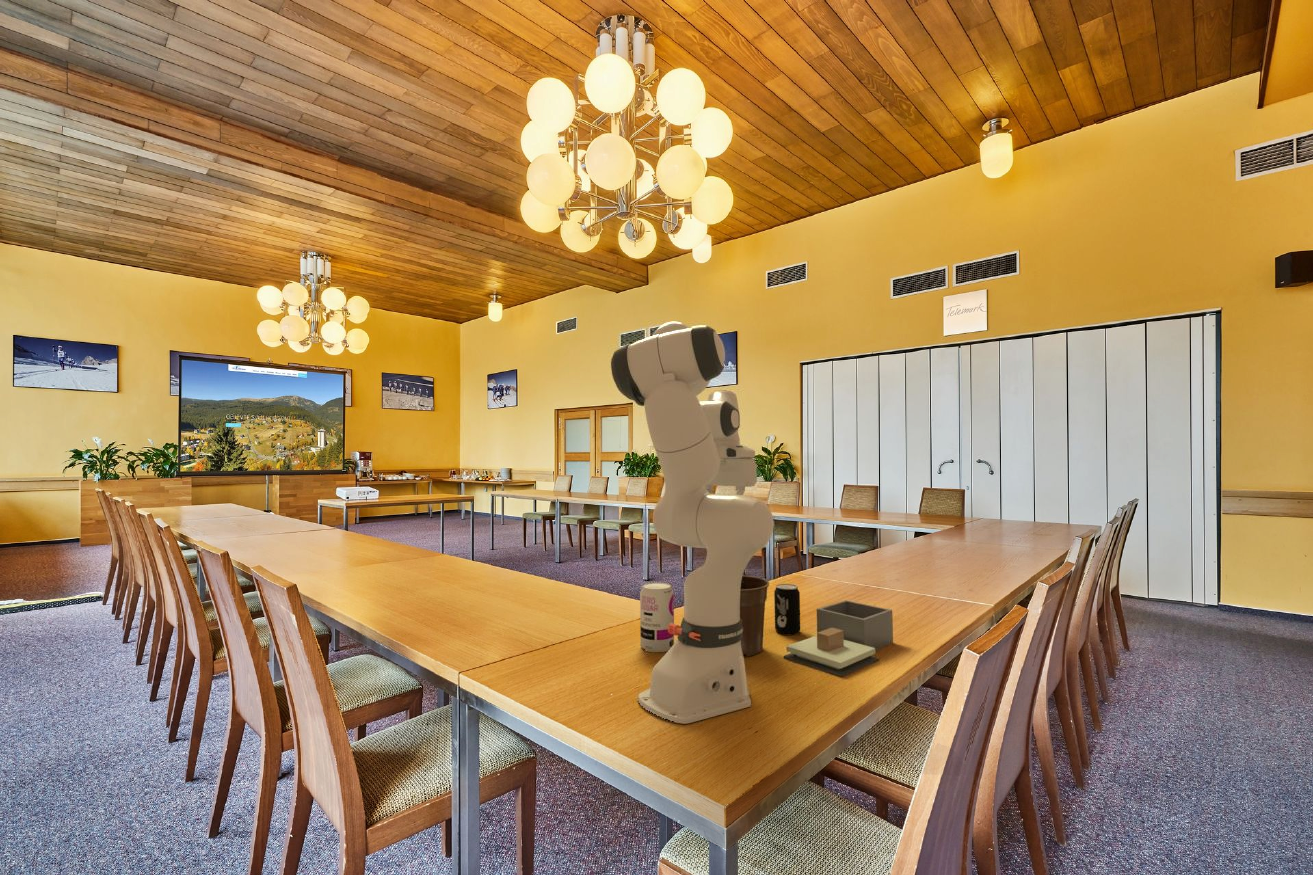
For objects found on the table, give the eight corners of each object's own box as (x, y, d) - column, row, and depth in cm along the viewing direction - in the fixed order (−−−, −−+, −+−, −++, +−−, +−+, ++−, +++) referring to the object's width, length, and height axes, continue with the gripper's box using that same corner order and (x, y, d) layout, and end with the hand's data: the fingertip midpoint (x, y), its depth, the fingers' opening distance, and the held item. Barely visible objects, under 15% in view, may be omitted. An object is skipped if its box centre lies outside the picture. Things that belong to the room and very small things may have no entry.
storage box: (865, 654, 130) (864, 619, 130) (817, 640, 140) (816, 608, 140) (893, 642, 138) (892, 609, 139) (846, 630, 148) (845, 600, 149)
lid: (840, 673, 118) (840, 646, 118) (786, 655, 128) (786, 630, 129) (875, 657, 126) (874, 632, 127) (822, 642, 137) (821, 619, 137)
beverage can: (803, 635, 144) (802, 588, 145) (777, 635, 144) (776, 589, 145) (797, 627, 151) (796, 583, 151) (772, 628, 151) (772, 583, 152)
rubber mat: (841, 677, 117) (841, 674, 117) (783, 657, 128) (783, 655, 128) (878, 660, 126) (878, 658, 126) (821, 643, 138) (821, 641, 138)
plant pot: (691, 653, 132) (691, 585, 132) (717, 634, 146) (716, 572, 147) (758, 665, 124) (757, 592, 125) (778, 643, 138) (777, 578, 139)
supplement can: (675, 642, 140) (674, 582, 140) (672, 654, 132) (672, 589, 132) (643, 641, 141) (642, 581, 141) (638, 653, 132) (638, 589, 133)
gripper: (688, 452, 156) (689, 501, 156) (743, 450, 141) (744, 505, 140) (704, 452, 160) (705, 500, 160) (760, 450, 145) (761, 504, 144)
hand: (724, 502), depth 150 cm, fingers open, 8 cm apart
